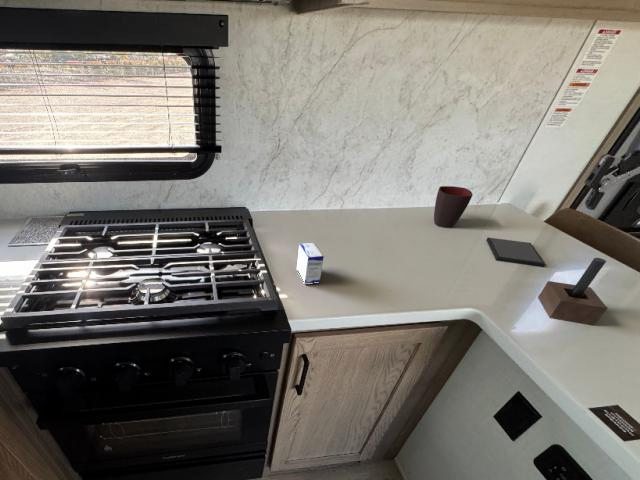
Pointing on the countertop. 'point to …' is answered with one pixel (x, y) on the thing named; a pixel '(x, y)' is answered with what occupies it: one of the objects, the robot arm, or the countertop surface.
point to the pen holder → (571, 304)
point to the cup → (450, 205)
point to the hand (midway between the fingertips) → (614, 211)
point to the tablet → (515, 252)
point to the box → (309, 262)
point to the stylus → (587, 277)
